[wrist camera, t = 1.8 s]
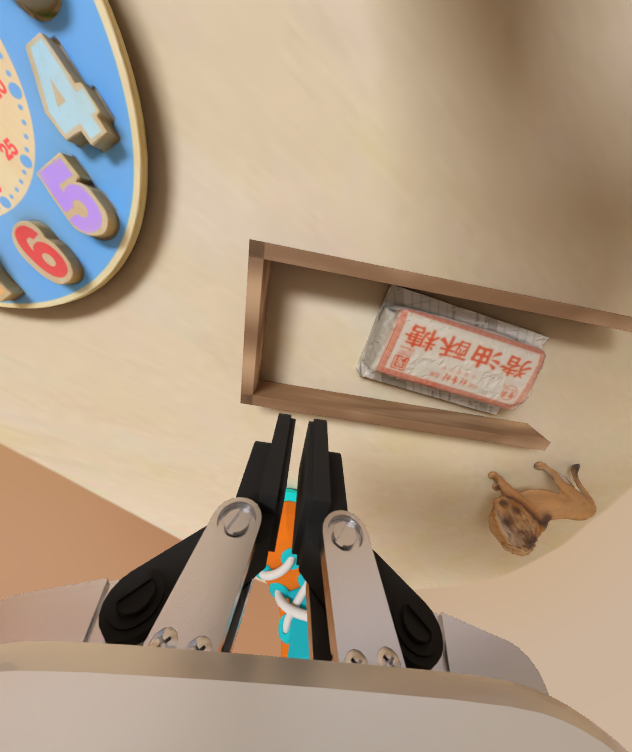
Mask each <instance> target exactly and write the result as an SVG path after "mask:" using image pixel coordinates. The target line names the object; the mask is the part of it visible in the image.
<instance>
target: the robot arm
mask: <svg viewBox="0 0 632 752" xmlns="http://www.w3.org/2000/svg"><path fill="white" fill-rule="evenodd" d="M295 421H296V419H292V418H291V415H288V414H281V413H279V416H278V420H277V424H276V428H275V432H274V436H273V440H272V443H266V442H259V441H255V443H254V446H253V449H252V452H251V455H250V458H249V461H248V463H247V466H246V469H245V472H244V475H243V478H242V481H241V484H240V487H239V490H238V493H237V496H236V498H232V499H230V500H227V501H225V502H224V503H223V504H221V505H220V506H219V507H218V508H217V509H216V511H215V512H214V514H213V516H212V517H211V519H210V521H209V523H208V525H207V526H206V527H204V528H202V529H201V530H199V531H197V532H196V533H194V534H192V535H191V536H189V537H187V538H186V539H184V540H183V541H181V542H179V543H178V544H176V545H174V546H173V547H171V548H169V549H168V550H166V551H164V552H163V553H161V554H160V555H158V556H156V557H154V558H153V559H151V560H150V561H148V562H146V563H145V564H143V565H141V566H140V567H138V568H136V569H135V570H133V571H131V572H130V573H129V574H128V575H126V576H125V577H123V578H122V579H119V580H114V581H109V580H108V578H105V579H100V580H95V581H89V582H84V583H78V584H72V585H68V586H62V587H56V588H51V589H45V590H40V591H35V592H29V593H23V594H18V595H14V596H12V597H8V598H6V599H3V600H1V601H0V752H628V751H627V750H626V749H625V748H623V747H622V746H621V745H620V744H619V743H618V742H617V741H616V740H614V739H613V738H612V737H611V736H610V735H608V734H607V733H606V732H605V731H603V730H602V729H601V728H599V727H598V726H597V725H596V724H594V723H593V722H592V721H590V720H589V719H588V718H586V717H585V716H583V715H582V714H580V713H579V712H577V711H575V710H574V709H572V708H571V707H569V706H568V705H566V704H564V703H562V702H560V701H558V700H557V699H555V698H553V697H551V696H549V694H548V692H547V689H546V686H545V684H544V682H543V680H542V678H541V676H540V673H539V671H538V670H537V669H536V667H535V666H534V664H533V663H532V662H531V660H530V659H529V657H528V656H527V655H525V654H524V653H523V652H522V651H521V650H520V649H519V648H518V647H517V646H515V645H514V644H512V643H510V642H509V641H507V640H504V639H502V638H500V637H498V636H495V635H493V634H491V633H488V632H486V631H484V630H481V629H479V628H477V627H475V626H472V625H470V624H468V623H466V622H463V621H461V620H459V619H456V618H454V617H452V616H450V615H447V614H445V613H443V612H441V613H440V615H439V614H436V613H434V612H432V610H431V609H430V608H429V607H428V606H427V604H426V603H425V602H424V601H423V600H422V599H421V598H420V597H419V596H418V595H417V594H416V593H415V592H414V591H413V590H412V589H411V588H410V587H409V586H408V585H407V584H406V583H405V582H404V581H403V580H402V579H401V578H400V577H399V576H398V575H397V574H396V573H395V571H394V570H393V569H392V568H391V567H390V566H389V565H388V564H387V563H386V562H385V561H384V560H383V559H382V558H381V557H380V556H379V555H378V554H377V553H376V552H375V551H374V550H373V549H372V546H371V543H370V539H369V536H368V532H367V530H366V527H365V525H364V524H363V522H362V521H361V520H360V519H359V518H358V517H357V516H356V515H354V514H353V513H350V512H348V510H347V501H346V492H345V484H344V475H343V466H342V458H341V454H340V453H335V452H328V433H327V421H326V420H320V419H314V421H313V422H311V421H309V424H308V428H307V433H306V438H305V443H304V448H303V452H302V457H301V462H300V467H299V475H298V486H297V497H296V508H295V519H294V530H293V541H292V554H296V555H297V560H296V565H299V572H300V574H301V575H302V577H303V578H304V579H305V581H306V605H307V623H308V642H309V659H298V658H286V657H273V656H262V655H249V654H238V653H232V650H233V647H234V643H235V640H236V637H237V633H238V630H239V627H240V623H241V620H242V616H243V613H244V610H245V606H246V603H247V600H248V596H249V593H250V590H251V586H252V583H253V578H254V577H255V576H257V575H258V574H259V573H260V572H261V571H262V570H264V569H265V568H266V563H267V558H268V552H269V551H270V552H275V548H276V542H277V537H278V532H279V526H280V521H281V515H282V510H283V505H284V499H285V493H286V486H287V479H288V471H289V464H290V457H291V450H292V443H293V435H294V428H295Z"/></svg>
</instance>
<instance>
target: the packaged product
mask: <svg viewBox="0 0 632 752" xmlns="http://www.w3.org/2000/svg"><path fill="white" fill-rule="evenodd" d="M548 339H549V337H546V336H543V335H541V334H538V333H535V332H532V331H530V330H527V329H524V328H522V327H519V326H516V325H513V324H510V323H506V322H503V321H500V320H497V319H494V318H491V317H488V316H484V315H481V314H479V313H476V312H473V311H470V310H468V309H465V308H462V307H459V306H455V305H452V304H449V303H446V302H444V301H442V300H439V299H436V298H433V297H430V296H427V295H424V294H421V293H417V292H414V291H410V290H407V289H405V288H402V287H399V286H397V285H392V284H391V285H390V287H389V290H388V292H387V294H386V296H385V299H384V301H383V303H382V305H381V308H380V310H379V312H378V314H377V317H376V319H375V322H374V325H373V327H372V330H371V333H370V336H369V338H368V340H367V342H366V345H365V347H364V349H363V352H362V354H361V357H360V359H359V362H358V364H357V366H356V370H357V372H358V373H359V375H360V377H367V378H369V379H373V380H376V381H379V382H383V383H387V384H390V385H394V386H397V387H401V388H404V389H408V390H411V391H415V392H417V393H421V394H425V395H429V396H431V397H435V398H439V399H443V400H446V401H449V402H453V403H456V404H459V405H463V406H466V407H470V408H473V409H476V410H480V411H483V412H488V413H491V414H494V415H496V414H497V413H498V412H499V410H500V409H501V408H504V409H508V410H514V409H515V408H516V407H518V405H519V404H522V403H523V402H524V401H525V400H526V399H527V398H528V397H529V395H530V393H531V391H532V386H533V385H534V382H535V380H536V378H537V374H538V373H539V372H540V371H539V370H541V369H542V366H543V363H544V359H545V356H546V355H545V353H544V351H543V350H542V349H543V346H542V345H543V344H544V343H545V342H546V341H547V340H548Z"/></svg>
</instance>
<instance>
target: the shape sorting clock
mask: <svg viewBox="0 0 632 752" xmlns="http://www.w3.org/2000/svg"><path fill="white" fill-rule="evenodd" d="M147 185H148V153H147V143H146V134H145V126H144V119H143V114H142V109H141V103H140V98H139V94H138V90H137V86H136V82H135V78H134V74H133V70H132V67H131V64H130V60H129V57H128V54H127V51H126V48H125V45H124V42H123V38H122V35H121V32H120V30H119V27H118V25H117V22H116V19H115V17H114V14H113V11H112V9H111V6H110V4H109V1H108V0H0V307H7V308H22V309H29V308H46V307H52V306H57V305H61V304H64V303H68V302H72V301H75V300H78V299H80V298H83V297H85V296H87V295H89V294H91V293H93V292H95V291H96V290H98V289H99V288H101V287H102V286H103V285H105V284H106V283H107V282H108V281H109V280H110V279H111V278H112V277H113V276H114V275H115V274H116V273H117V272H118V271H119V270H120V268H121V267H122V266H123V265H124V263H125V261H126V260H127V258H128V256H129V255H130V253H131V251H132V249H133V247H134V245H135V242H136V240H137V237H138V235H139V231H140V228H141V225H142V221H143V217H144V211H145V205H146V197H147Z"/></svg>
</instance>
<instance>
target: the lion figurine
mask: <svg viewBox="0 0 632 752" xmlns="http://www.w3.org/2000/svg"><path fill="white" fill-rule="evenodd" d="M579 467H580V464H575V465H573V466H572V469H571V472H572V476H573V479H574V481H575V483H576V485H577V487H578V488H579V490H580V491H581V493H582V494H581V493H580V492H579V491H577V490H576V489H575V488H574V486H573V485H572V484H571V482H570V481H569V480H568V479H567V477H565V476H564V475H562V474H559V473H557V472H556V471H554V470H553V469H551V468H549V467H548V466H547V465H546V464H544V463H542V462H537V463H536V464H535V468H536V469H537V470H544V471H546V472H548V473H549V474H550V475H551V476H552V478H553V479H554V481H555V483H556V485H557V487H558V489H559V490H560V492H559V493H553V492H550V491H546V490H541V489H531V490H526V491H523V492H518V491H517V490H515V489H514V488H513V487H511V486H510V485H509V484H508V483H507V482H506V481H505V480H504V479H503V478H502V477H501V476H500V475H499V474H498V473H496V472H490V473H489V474H488V477H489V478H490V479H493V480H495V481H496V482H497V483H496V484H494V485H493V486H492V488H493V489H494V490H495V491H499V490H500V491H501V493H502V496H501V497H499V498H497V499H494V502H493V510H492V511H491V514H490V516H489V520H488V521H489V527H490V531H491V532H492V533H493V535H494V536H495V537H496V538H497V540H498V541H499V542H500V543H501V545H502V546H503V548H504V550H506V551H511V552H512V553H513V554H517V555H520V556H524V555H528V554H529V553H530V552H531V551H533V548H534V547H535V543H536V541H537V538H538V537H539V536H540V535H541V533H542V532H544V531H545V529H546V528H547V525H548V522H549V521H550V520H553V519H572V520H586V519H588V518H590V517H592V516H593V515H594V514H595V513H596V505H595V503H594V501H593V499H592V498H591V497H590V495H589V494H588V492H587V491H586V490H585V488H584V487H583V485H582V484H581V482H580V481H579V479H578V475H577V473H578V471H579Z"/></svg>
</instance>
